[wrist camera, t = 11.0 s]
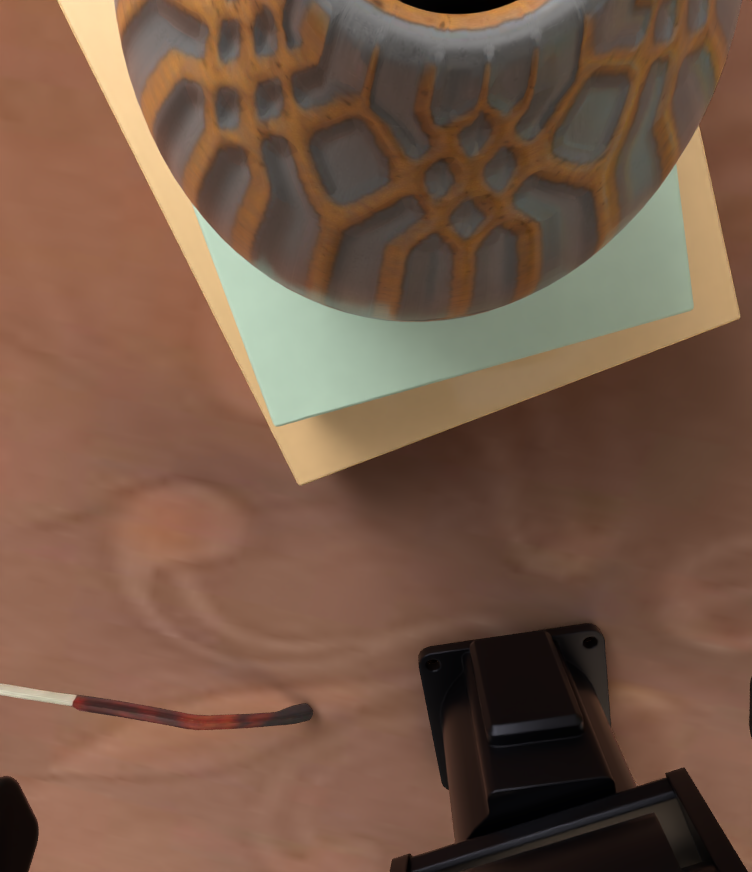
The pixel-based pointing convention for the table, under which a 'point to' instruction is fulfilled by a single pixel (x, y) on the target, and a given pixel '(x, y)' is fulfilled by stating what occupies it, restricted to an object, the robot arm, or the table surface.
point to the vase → (422, 134)
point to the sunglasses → (162, 711)
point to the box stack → (436, 340)
